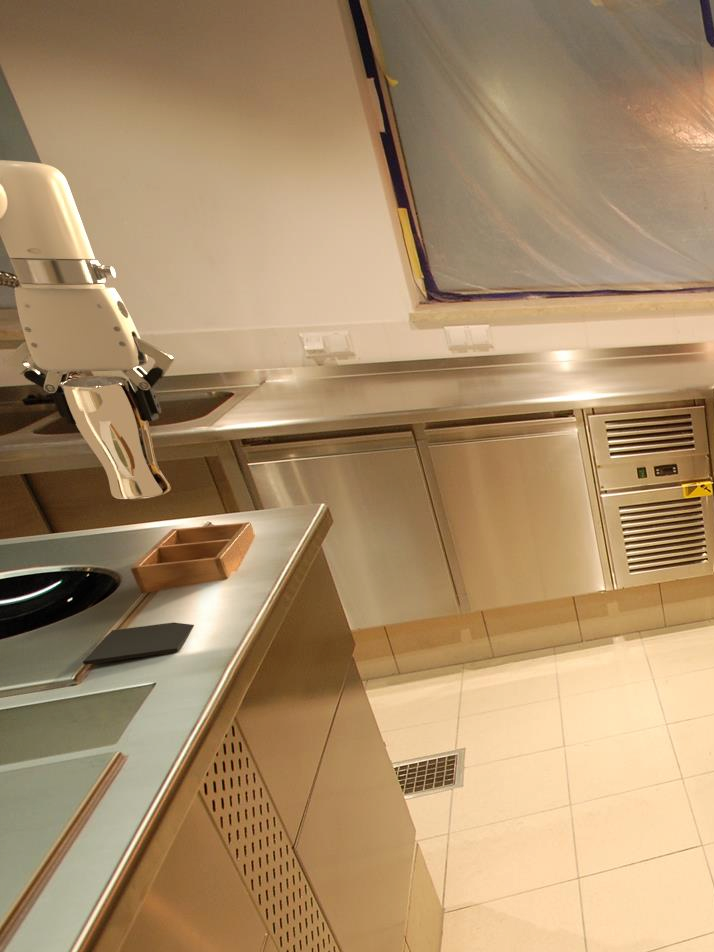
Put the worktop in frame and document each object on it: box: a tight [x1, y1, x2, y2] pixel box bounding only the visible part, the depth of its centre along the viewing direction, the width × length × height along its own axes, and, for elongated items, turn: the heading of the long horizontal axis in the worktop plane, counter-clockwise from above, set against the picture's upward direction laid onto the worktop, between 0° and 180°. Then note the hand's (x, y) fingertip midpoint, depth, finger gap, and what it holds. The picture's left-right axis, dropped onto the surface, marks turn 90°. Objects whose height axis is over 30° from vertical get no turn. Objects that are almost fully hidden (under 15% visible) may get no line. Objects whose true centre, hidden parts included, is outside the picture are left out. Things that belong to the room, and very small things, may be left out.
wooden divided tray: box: [130, 521, 256, 594], centre depth 129 cm, size 10×19×5 cm, turn 27°
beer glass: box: [60, 375, 172, 501], centre depth 111 cm, size 7×7×15 cm
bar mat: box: [82, 621, 195, 666], centre depth 108 cm, size 9×10×1 cm
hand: (114, 420), depth 111 cm, fingers closed on beer glass, 7 cm apart
